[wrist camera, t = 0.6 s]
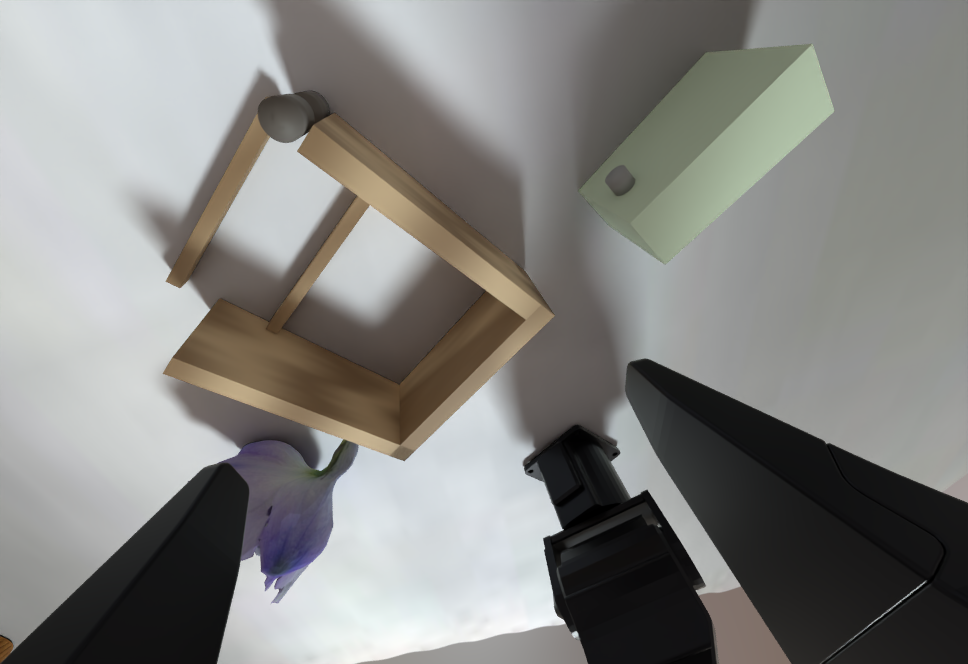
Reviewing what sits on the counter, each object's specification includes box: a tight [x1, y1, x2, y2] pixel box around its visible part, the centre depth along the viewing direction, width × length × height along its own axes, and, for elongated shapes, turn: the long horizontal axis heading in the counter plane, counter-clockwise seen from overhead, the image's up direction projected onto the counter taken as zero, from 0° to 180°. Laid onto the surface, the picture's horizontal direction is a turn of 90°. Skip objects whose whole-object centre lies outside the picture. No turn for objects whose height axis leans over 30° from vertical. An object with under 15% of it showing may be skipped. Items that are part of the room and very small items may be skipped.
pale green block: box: [578, 44, 834, 264], centre depth 17 cm, size 4×8×6 cm, turn 137°
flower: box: [188, 439, 358, 603], centre depth 23 cm, size 9×9×10 cm
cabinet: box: [163, 91, 555, 461], centre depth 18 cm, size 14×12×6 cm
